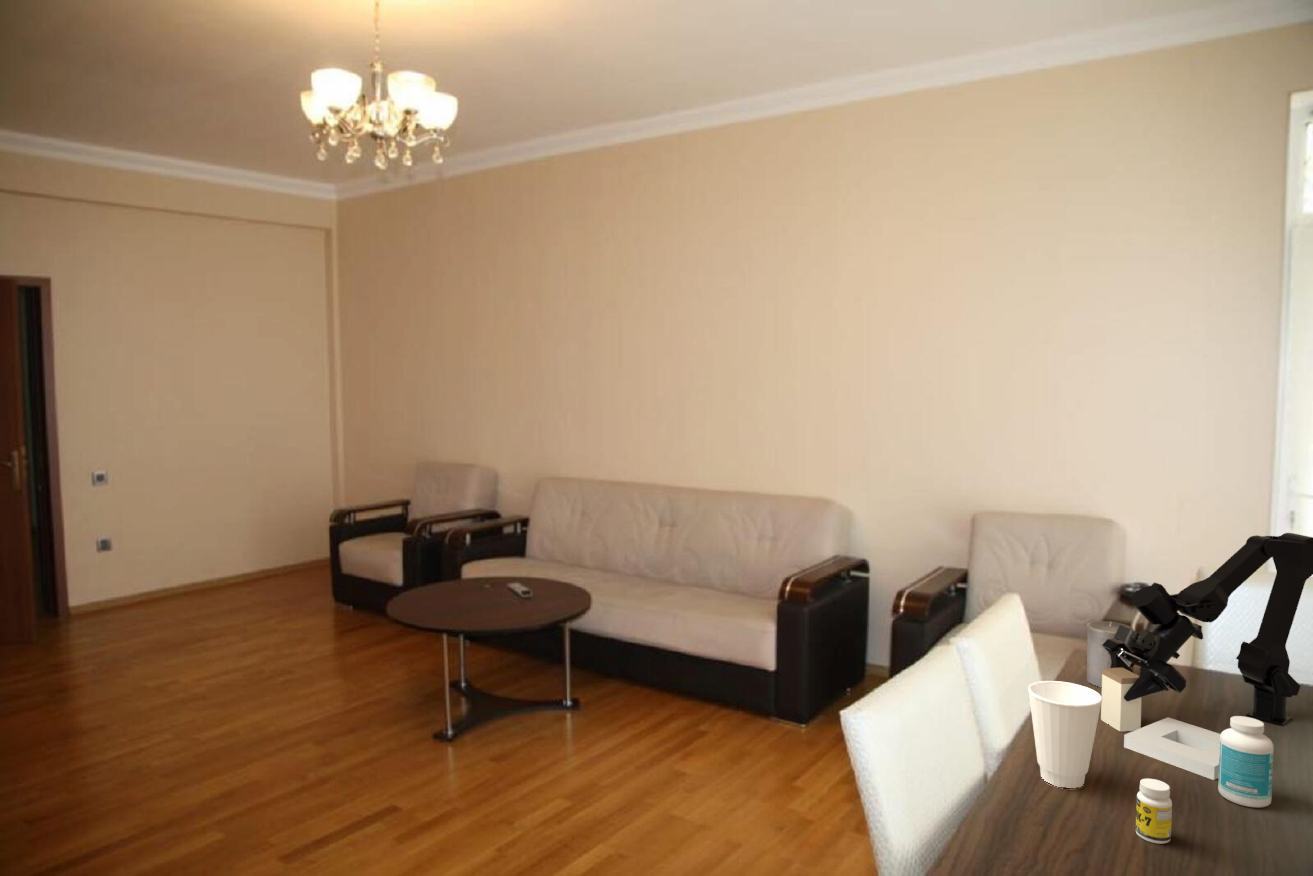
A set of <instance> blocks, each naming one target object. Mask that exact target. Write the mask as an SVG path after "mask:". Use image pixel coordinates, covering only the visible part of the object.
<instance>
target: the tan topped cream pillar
mask: <svg viewBox="0 0 1313 876" xmlns="http://www.w3.org/2000/svg"><path fill="white" fill-rule="evenodd" d="M1139 676H1140V675H1138V674H1137V673H1135V672H1134V673H1132V672H1130V671H1128V670H1126V669H1124V668H1102V688H1101V697H1102V703H1101V707H1100V720H1101V722H1102V721H1103V722H1104V723H1106V724H1107V725H1108V724H1109V725H1108V726H1110V727H1112V728H1114V729H1115V730H1117V732H1118V731H1119V733H1120V732H1132V731H1135V730H1137V729H1140V728H1142V727H1141V725H1142V723H1141V722H1142V697H1140V698H1137V699H1134V700H1131V701H1126V700H1125V699H1124V696H1125V694H1126V693H1127V691H1128V690H1129V689H1130V688H1131V686H1132V685H1133V684H1134V683H1135V682H1136V680H1137V679H1138V678H1139Z"/></svg>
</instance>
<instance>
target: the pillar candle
mask: <svg viewBox="0 0 1313 876" xmlns="http://www.w3.org/2000/svg"><path fill="white" fill-rule="evenodd" d="M1119 625H1122V626H1124V627H1126V628H1129V629H1131V630H1133V631H1135V629H1134V628H1133V627H1132V626H1130V625H1128V624H1125V623H1121V622H1116V621H1109V620H1108V621H1105V620H1097V621H1090V622H1088V623H1086V626H1087V627H1086V628H1087V631H1086V633H1087V636H1086V637H1087V638H1086V639H1087V641H1086V642H1087V643H1086V682H1087V681H1088V682H1089V683H1088V682H1087V683H1088V684H1090V683H1091V684H1090V685H1093V686H1095V685H1096V686H1095V687H1097V686H1098V687H1097V688H1099V687H1102V668H1110V666H1111V656H1110V655H1109V654H1108V652H1107V651H1106V649H1105V648H1104V647H1103V646H1102V645H1103V644H1104V643H1105V641H1106V640H1107V639H1114V636H1115V634H1116V632H1117V630H1118V627H1119ZM1115 640H1116V639H1115ZM1117 641H1119V642H1122V641H1121V640H1117ZM1122 643H1123V642H1122ZM1124 644H1125V643H1124ZM1125 645H1126V646H1127V647H1128V645H1127V644H1125ZM1130 651H1131V652H1132V653H1133V651H1132V650H1130ZM1129 668H1130V669H1131V670H1132V671H1133V672H1134V666H1133V667H1129Z"/></svg>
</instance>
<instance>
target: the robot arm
mask: <svg viewBox="0 0 1313 876" xmlns="http://www.w3.org/2000/svg"><path fill="white" fill-rule="evenodd" d="M1270 559H1272V560H1273V564H1274V567H1275V570H1276V575H1275V578H1274V581H1273V585H1272V587H1271V590H1270V594H1269V597H1268V600H1267V603H1266V607H1265V610H1264V612H1263V616H1262V620H1261V623H1260V626H1259V629H1258V633H1257V635H1256V637H1255V638H1254V639H1252V640H1251V641H1250V642H1246V641H1242V643H1241V644H1240V649H1239V653H1238V655H1237V656H1236V658H1235V659H1236V660H1238V661H1237V668H1238V669H1239V672H1240V674H1242V677H1243V678H1242V679H1243V681H1244V682H1245V684H1250V685H1252V686H1253V693H1252V709H1251V710H1249V711H1247V712H1246V713H1245V717H1249V718H1253V719H1256V720H1259V721H1265V722H1268V723H1272V724H1276V725H1279V726H1283V725H1285V724H1286V723H1288V722H1289V721H1290V719H1291V720H1292V719H1293V715H1291V714H1287V705H1288V704H1287V702H1288V698H1292V697H1293V696H1298V694H1299V691H1300V689H1301V685H1300V684H1299V683H1298V681H1296V680H1295V678H1293V677H1292V675H1291V674H1290V673H1289V670H1290V663H1291V661H1290V658H1289V657H1290V656H1289V654H1288V651H1287V647H1286V646H1287V641H1288V638H1289V634H1290V632H1291V629H1292V626H1293V622H1294V620H1295V616H1296V613H1297V609H1298V606H1299V602H1300V601H1301V597H1302V594H1303V590H1304V587H1305V585H1306V581H1307V580H1308V579H1309V578H1311V576H1313V536H1308V535H1303V534H1299V533H1298V534H1297V533H1293V532H1285V533H1283V534H1281V535H1277V536H1276V535H1251V536H1250V537H1249V538H1247V539H1246V541H1245V544H1244V545H1242V546H1241V547H1240V548H1239V549H1238V550H1237V551H1236V552H1235V553H1233V555H1232V556H1230V557H1229V558H1228V559H1227V560H1226V561H1225V562H1224V563H1223V564H1222V565H1220V567H1218V568H1217V569H1216V570H1215V571H1214V572H1213V573H1212V574H1210V575H1209V576H1208V577H1206V578H1205V579H1203V580H1199V581H1196V582H1193V583H1190V584H1189V585H1188V586H1187V587H1185V588H1183V589H1182V590H1180V591H1179V592H1178V593H1174V594H1169V591H1167V589H1166V587H1164V585H1162V584H1160V583H1158V582H1153V583H1151V585H1148V586H1144V587H1142V588H1140V589H1138V590H1136V591H1135V592H1134V593H1133V594H1132V595H1131V599H1130V601H1131V602H1130V603H1131V605H1132V606H1133V607H1134V608H1135V609H1136V610H1137V611H1138V612H1139V613H1140V614H1141V615H1142V616H1143V617H1144V618H1145V619H1146V620H1147V621H1148V622H1149V623H1150V624H1151V625H1156V626H1155V627H1154V628H1153V629H1152V630H1151V631H1150V630H1144V629H1142V630H1140V631H1139V632H1138V631H1135V630H1134V631H1133V630H1131V629H1129V628H1126V627H1124V626H1122V625H1119V627H1118V630H1117V632H1116V634H1115V636H1114V639H1107V640H1106V641H1105V643H1104V644H1103V645H1102V646H1103V647H1104V648H1105V649H1106V651H1107V652H1108V654H1109V655H1110V656H1111V666H1110V668H1124V669H1126V670H1128V671H1130V672H1132V673H1134V674H1135V672H1134V670H1133V671H1132V670H1131V669H1130V668H1129V667H1133V668H1134V667H1135V665H1136V666H1137V667H1139V668H1140V672H1139V675H1138V676H1139V678H1138V679H1137V680H1136V682H1135V683H1134V684H1133V685H1132V686H1131V688H1130V689H1129V690H1128V691H1127V693H1126V694H1125V696H1124V699H1125V700H1126V701H1131V700H1134V699H1137V698H1140V697H1145V696H1146V697H1147V696H1149V695H1151V694H1152V695H1153V694H1155V693H1156V694H1157V693H1159V692H1163V691H1165V692H1169V690H1173V691H1175V692H1176V693H1178V694H1181V693H1182V692H1183V691H1184V690H1185V689H1186V687H1187V679H1186V678H1185V677H1184V676H1183V675H1182V674H1181V673H1180V672H1179V671H1178V670H1177V669H1176V668H1175V666H1174V665H1171V664H1170V663H1168V662H1169V660H1170V659H1171V658H1173V659H1176V660H1178V659H1179V657H1180V656H1181V655H1180V654H1179V652H1178V651H1179V650H1180V649H1181V648H1182V647H1183V646H1184V645H1185V643H1186V642H1188V640H1189V639H1191V637H1194V638H1195V639H1198V640H1203V639H1204V633H1203V630H1202V629H1203V628H1202V627H1203V626H1202V625H1200V624H1197V623H1194V622H1193V621H1192V620H1191V619H1190V618H1192V619H1195V620H1197V621H1200V622H1203V623H1213V622H1215V621H1216V620H1217V619H1218V618H1219V617H1220V616H1221V615H1222V613H1223V612H1224V610H1226V608H1227V606H1228V602H1229V598H1230V597H1231V595H1232V594H1233V593H1234V592H1235V591H1236V590H1237V589H1239V587H1240V586H1241V585H1242V584H1243V583H1245V582H1246V581H1247V580H1248V579H1249V578H1250V577H1251V576H1252V575H1253V574H1254V573H1256V572H1257V571H1258V570H1259V569H1260V568H1262V566H1263V565H1264V564H1266V563H1267V562H1268V561H1269V560H1270ZM1179 612H1180V613H1179ZM1115 639H1116V640H1115ZM1117 640H1121V641H1122V642H1123V643H1122V642H1119V641H1117ZM1124 643H1125V644H1127V645H1128V647H1127V646H1126V645H1125V644H1124ZM1130 650H1132V651H1133V653H1132V652H1131V651H1130Z"/></svg>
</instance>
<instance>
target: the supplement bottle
mask: <svg viewBox="0 0 1313 876" xmlns="http://www.w3.org/2000/svg"><path fill="white" fill-rule="evenodd" d="M1138 789H1139V791H1138V792H1137V794H1136V804H1135V805H1136V808H1135V809H1136V810H1135V832H1136V835H1137V836H1138V837H1139V838H1141V839H1143V840H1145V841H1147V842H1149V843H1153V844H1161V845H1162V844H1163V845H1164V844H1167V843H1169V842H1170V841H1171V837H1172V819H1173V818H1172V817H1173V816H1172V815H1173V801H1172V799H1171V797H1170V796H1171V787H1170V785H1169V784H1167V783H1166V782H1164V781H1161V780H1159V779H1154V778H1142V779H1140V782H1139V788H1138Z"/></svg>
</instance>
